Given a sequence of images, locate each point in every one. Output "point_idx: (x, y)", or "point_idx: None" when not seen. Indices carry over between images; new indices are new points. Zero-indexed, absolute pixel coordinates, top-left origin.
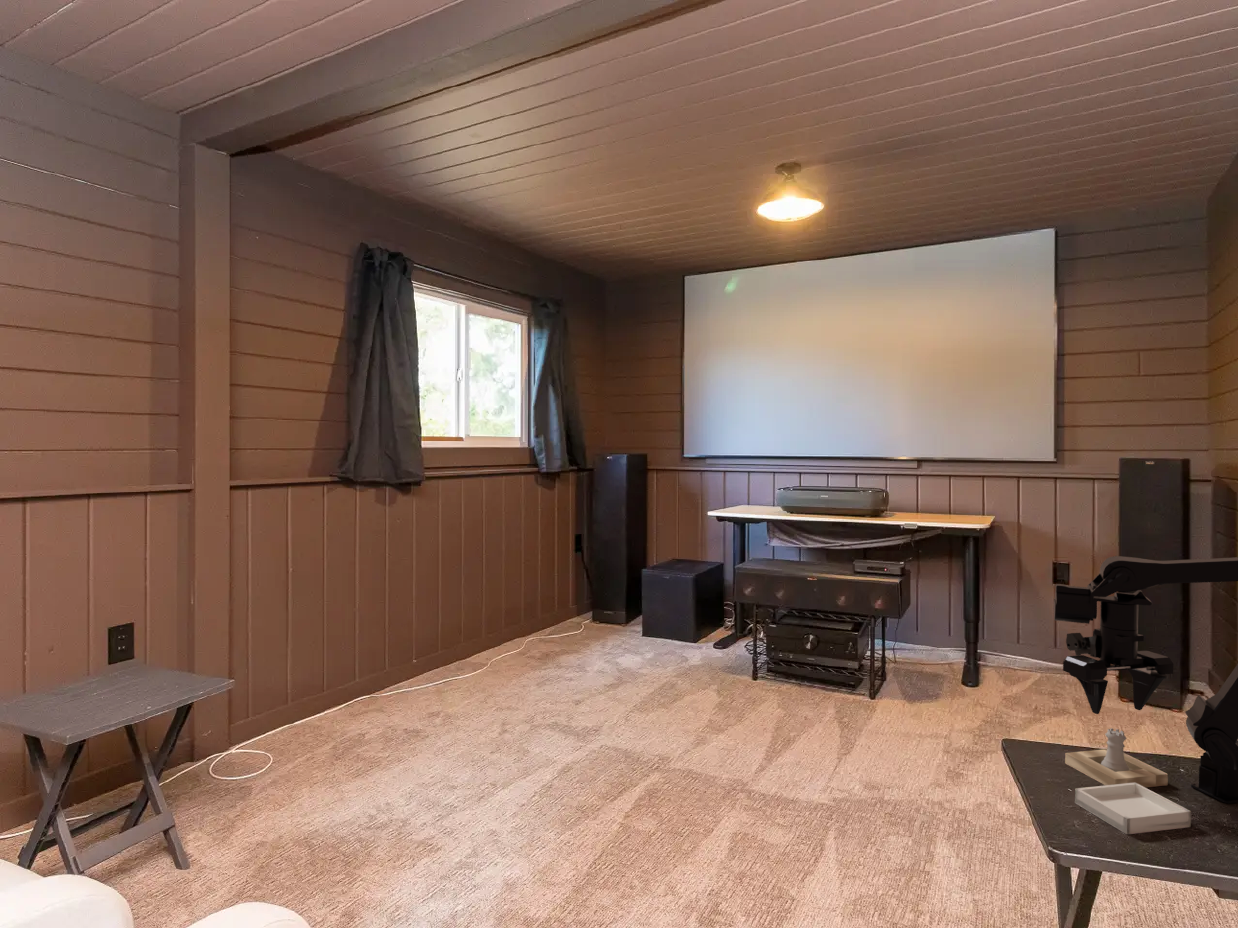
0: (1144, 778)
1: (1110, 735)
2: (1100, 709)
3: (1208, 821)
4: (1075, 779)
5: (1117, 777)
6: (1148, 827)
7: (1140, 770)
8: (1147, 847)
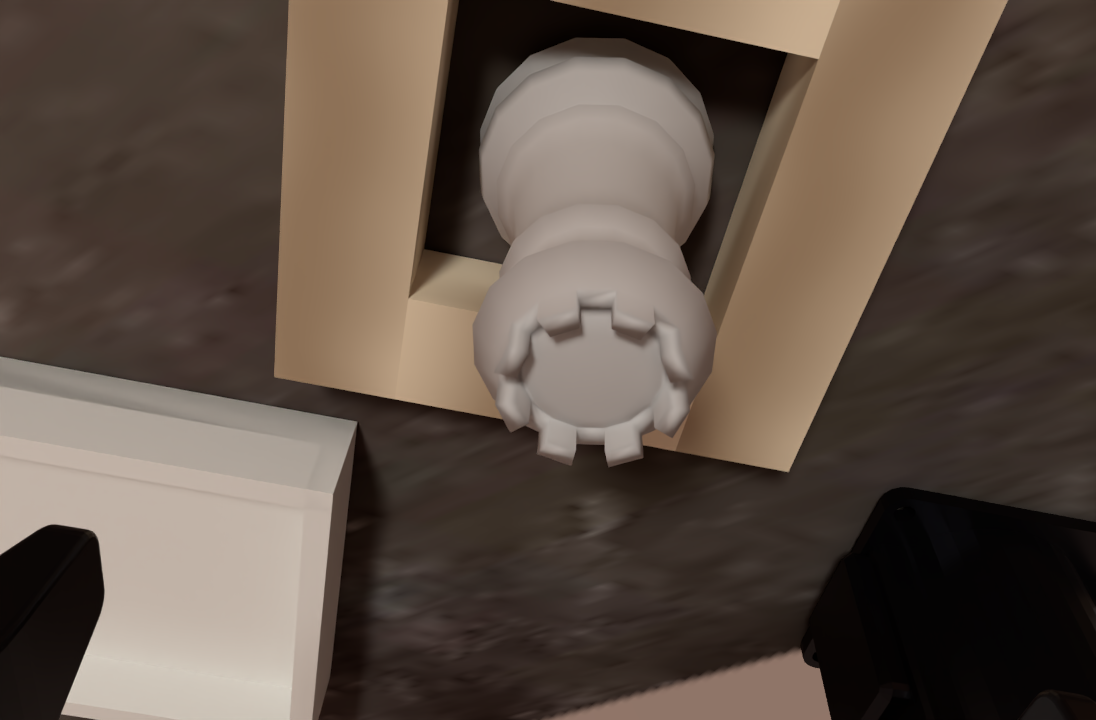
0: None
1: (492, 352)
2: (60, 712)
3: (482, 681)
4: (135, 75)
5: (326, 362)
6: None
7: None
8: None
